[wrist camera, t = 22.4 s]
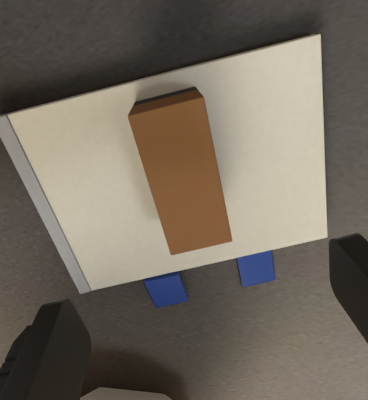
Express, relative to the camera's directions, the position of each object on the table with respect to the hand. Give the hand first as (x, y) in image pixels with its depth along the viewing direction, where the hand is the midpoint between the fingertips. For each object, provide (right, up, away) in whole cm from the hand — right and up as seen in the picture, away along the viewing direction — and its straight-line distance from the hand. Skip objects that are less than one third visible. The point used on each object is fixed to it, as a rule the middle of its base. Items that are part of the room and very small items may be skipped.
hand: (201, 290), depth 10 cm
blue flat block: (+6, -3, +18) cm, 19 cm away
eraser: (-1, +6, +12) cm, 13 cm away
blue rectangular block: (-2, -5, +18) cm, 19 cm away
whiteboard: (0, +4, +14) cm, 15 cm away
